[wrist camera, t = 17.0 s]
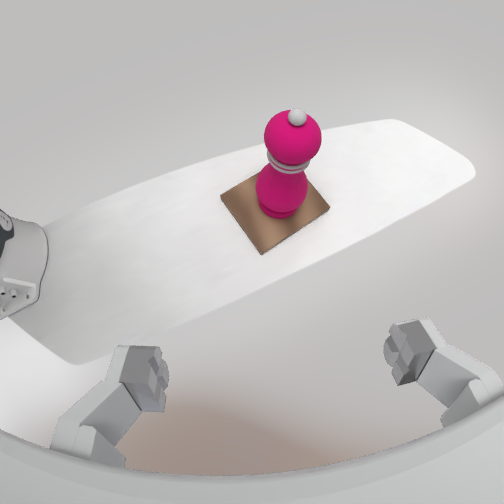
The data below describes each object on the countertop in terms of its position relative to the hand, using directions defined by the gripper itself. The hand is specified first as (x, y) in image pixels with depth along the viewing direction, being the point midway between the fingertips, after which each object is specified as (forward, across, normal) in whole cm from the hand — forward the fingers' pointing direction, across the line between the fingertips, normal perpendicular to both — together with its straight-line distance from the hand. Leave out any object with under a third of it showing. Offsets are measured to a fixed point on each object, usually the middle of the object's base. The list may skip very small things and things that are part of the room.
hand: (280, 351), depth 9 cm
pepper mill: (+35, -5, +8) cm, 36 cm away
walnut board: (+36, -5, +8) cm, 37 cm away
